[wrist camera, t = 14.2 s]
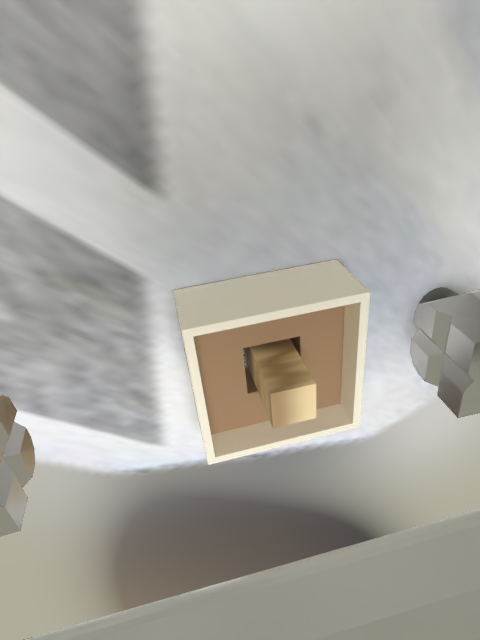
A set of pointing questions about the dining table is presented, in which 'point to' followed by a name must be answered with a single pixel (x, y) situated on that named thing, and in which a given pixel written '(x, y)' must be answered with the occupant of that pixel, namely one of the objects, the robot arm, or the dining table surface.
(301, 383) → the peg
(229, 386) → the bore box
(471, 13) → the dining table surface
